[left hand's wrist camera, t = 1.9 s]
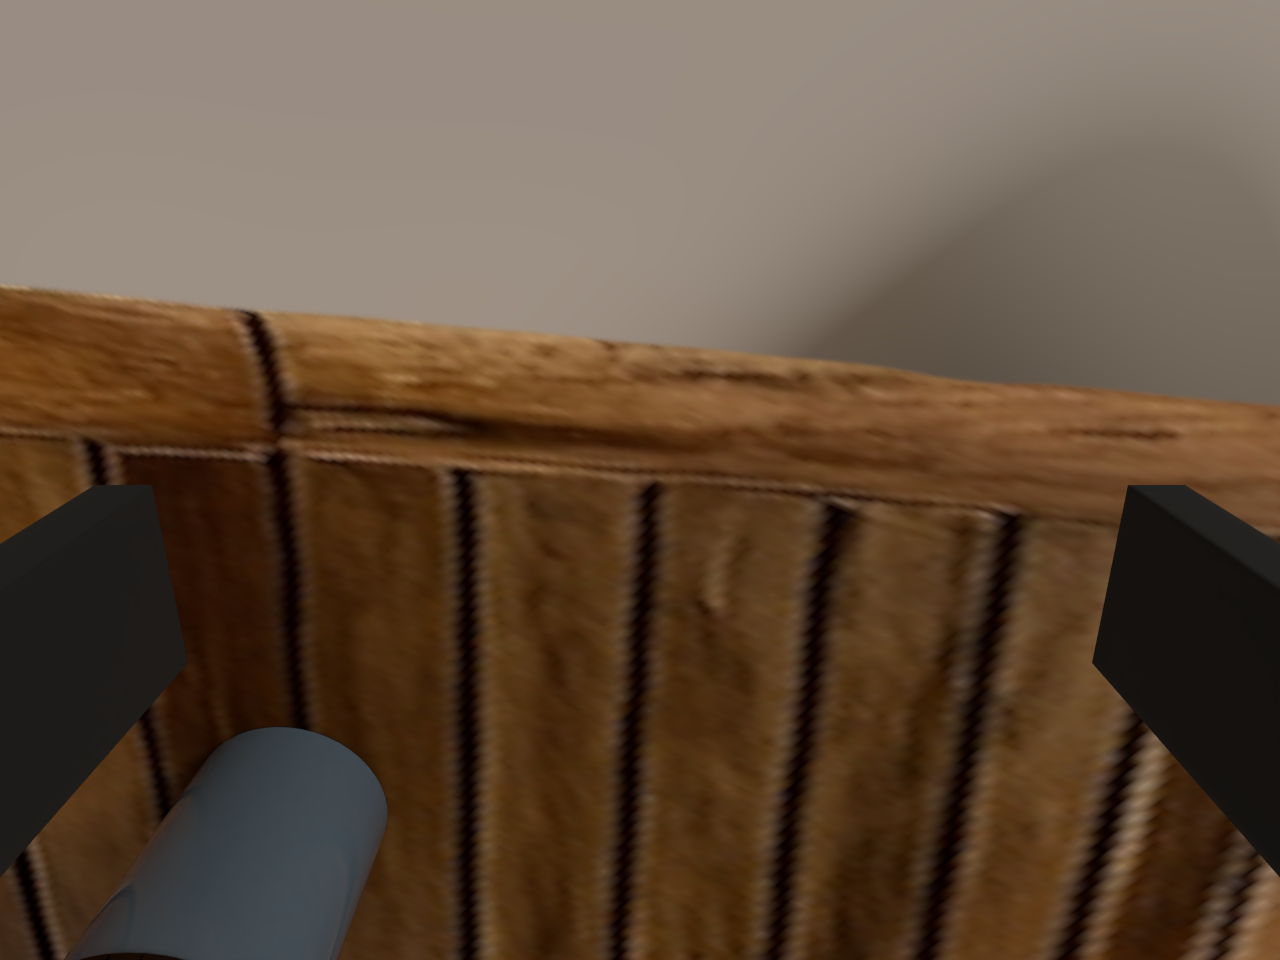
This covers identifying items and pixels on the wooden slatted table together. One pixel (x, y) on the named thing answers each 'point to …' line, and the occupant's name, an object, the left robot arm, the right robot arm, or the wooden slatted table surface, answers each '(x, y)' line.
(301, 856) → the jar
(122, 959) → the lid
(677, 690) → the wooden slatted table surface
